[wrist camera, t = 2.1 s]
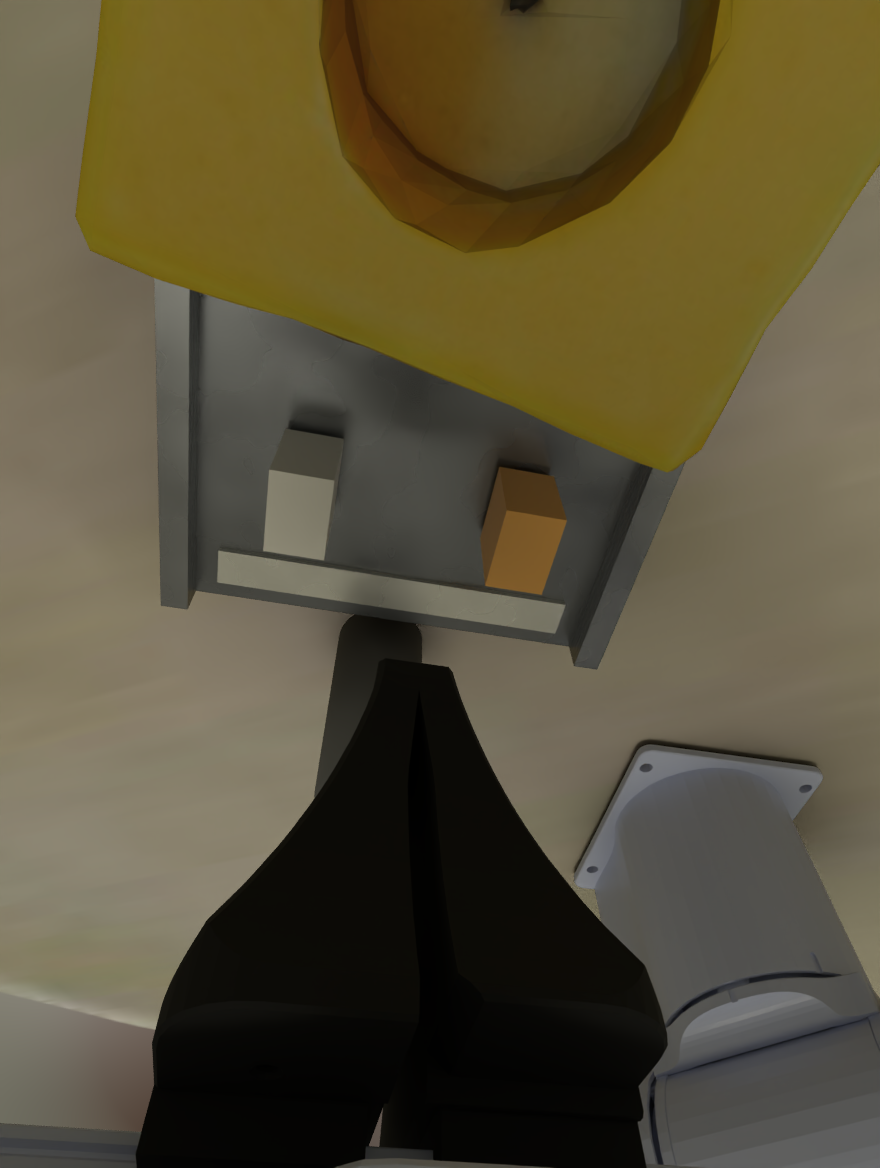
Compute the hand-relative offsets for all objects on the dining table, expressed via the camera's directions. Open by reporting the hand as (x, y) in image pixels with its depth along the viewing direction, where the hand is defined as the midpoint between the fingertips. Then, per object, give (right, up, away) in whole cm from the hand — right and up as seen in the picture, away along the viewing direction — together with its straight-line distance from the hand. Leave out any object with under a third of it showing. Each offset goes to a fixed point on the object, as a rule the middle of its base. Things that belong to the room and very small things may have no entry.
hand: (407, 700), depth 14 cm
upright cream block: (-3, +5, +7) cm, 9 cm away
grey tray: (0, +6, +8) cm, 10 cm away
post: (-1, 0, +13) cm, 13 cm away
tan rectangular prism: (+3, +4, +7) cm, 9 cm away
